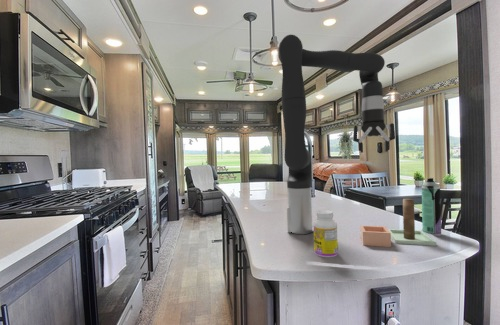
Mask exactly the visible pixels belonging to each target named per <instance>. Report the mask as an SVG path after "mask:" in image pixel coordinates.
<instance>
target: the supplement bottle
mask: <svg viewBox="0 0 500 325" xmlns="http://www.w3.org/2000/svg"><path fill="white" fill-rule="evenodd" d="M315 214H316V218H317V219H315V220H314V221H313V222H312V227H313V253H314V254H315V255H316V256H319V257H323V258H334V257H336V256H339V254H338V253H339V249H338V224H337V221H335V219H333V218H334V212H333V211H331V210H329V209H328V210H327V209H324V210H323V209H322V210H317V211H316V213H315Z"/></svg>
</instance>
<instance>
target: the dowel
mask: <svg viewBox="0 0 500 325" xmlns="http://www.w3.org/2000/svg"><path fill="white" fill-rule="evenodd" d="M402 221H403V222H402V224H403V225H402V227H403V229H402V230H404V238H405V239H410V240H414V239H415V230H416V228H415V227H416V226H415V223H416V222H415V221H416V219H415V199H413V198H403V199H402Z"/></svg>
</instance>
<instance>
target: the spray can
mask: <svg viewBox="0 0 500 325" xmlns="http://www.w3.org/2000/svg"><path fill="white" fill-rule="evenodd" d="M441 202H442V201H441V185H440V184H438V183H436V181H435V180H434V177H433V178H432V177H430V178H427V180H426V181H425V182H424V183H423V184H421V212H422V213H421V217H422V220H421V221H422V222H421V224H422V231H423V232H424V233H425V234H430V235H432V236H434V237H441V236H442V207H441V206H442V205H441Z"/></svg>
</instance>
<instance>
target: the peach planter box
mask: <svg viewBox="0 0 500 325" xmlns="http://www.w3.org/2000/svg"><path fill="white" fill-rule="evenodd" d="M388 229H389V228H387V226H382V225H381V226H380V225H379V226H377V225H361V224H360V225H359V232H360V240H361V243H362V245H363V246H369V247H386V248H392V238H391V233H390V232H389V230H388Z"/></svg>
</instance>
